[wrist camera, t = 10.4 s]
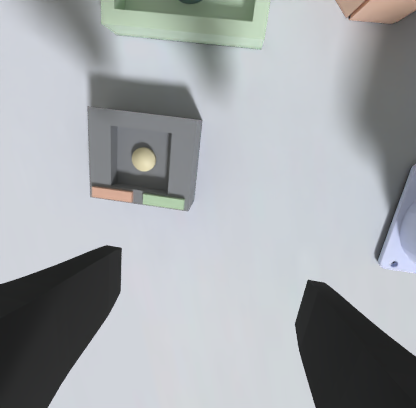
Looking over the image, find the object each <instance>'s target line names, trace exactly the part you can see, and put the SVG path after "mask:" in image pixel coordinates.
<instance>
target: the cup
mask: <svg viewBox="0 0 416 408" xmlns="http://www.w3.org/2000/svg"><path fill="white" fill-rule="evenodd" d="M336 2H337V3H338V5H339V7H340V8H341V10H342V12H343V13H344V15H345V17H346V18H347V17H348V16H350V19H349V20H353V21H364V22H376V23H387V24H393V23H395V22H396V23H397V22H398V21H400V20H401V19H403V18H404V17H406V16H408V15H409V14H411V13H412V12H414V11H415V10H416V0H336Z"/></svg>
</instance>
